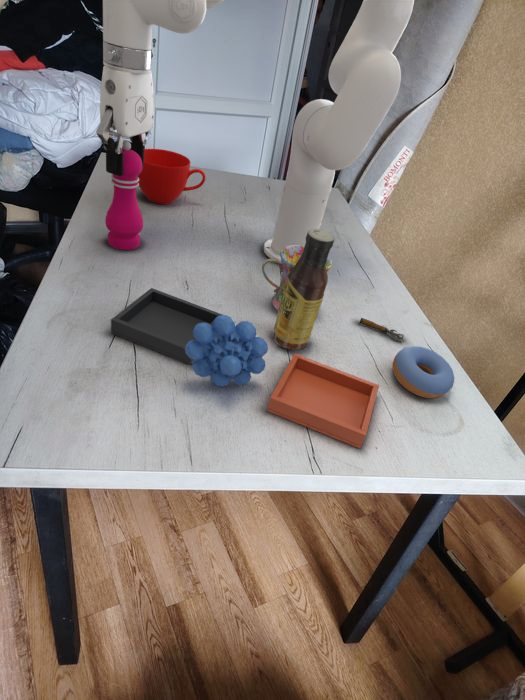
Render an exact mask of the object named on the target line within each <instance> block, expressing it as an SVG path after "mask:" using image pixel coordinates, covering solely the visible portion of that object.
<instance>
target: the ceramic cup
mask: <svg viewBox="0 0 525 700" xmlns="http://www.w3.org/2000/svg"><path fill="white" fill-rule="evenodd" d="M196 173H197V174H200V175H201V176H202V179H201V181H200V182H199V183H198V184H196V185H193V186H187V183H188V180H189V178H190V177H191V176H192V175H193V174H196ZM137 177H138V178H139V181H138V183H139V186H138V187H139V188H140V190H141V192H142V193H143V194H144V196H145V198H146V199H147V200H148V201H150V202H153V203H155V204H162V205H167V204H172V203H173V202H174V201H175V200H177V198H179V197H180V196H181V194H183V192H188V191H193V190H198V189H199V188H201V187H202V186H203V185H204V184H205V182H206V173H205V172H204V170H202V169H200V168H193V169H191V159H190V158H189V157H187V156H185V155H183V154H182V153H178V152H176V151H171V150H168V149H161V148H145V149H144V167H143V168H142V171H141V173H140V174H139V175H138V176H137Z"/></svg>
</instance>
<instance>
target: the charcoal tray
mask: <svg viewBox="0 0 525 700" xmlns="http://www.w3.org/2000/svg"><path fill="white" fill-rule="evenodd" d="M219 315H224V314H223V313H220V312H217V311H214V310H211V309H209V308H207V307H204V306H201V305H198V304H196V303H194V302H190V301H188V300H185V299H182V298H180V297H177V296H174V295H172V294H169V293H166V292H163V291H161V290H158V289H156V288H153V287H150V288H149V289H148V290H147V291H146V292H144V293H143V294H141V295H140V296H139V297H138V298H136V299H135V300H134V301H133V302H132V303H130V304H129V305H128V306H126V307H125V308H124V309H122V310H121V311H120V312H119V313H118V314H116V315H115V316H113V317H112V318H111V319H110V334H113V335H115V336H117V337H120V338H122V339H125V340H126V341H127V340H128V341H129V342H132V343H135V344H138V345H140V346H142V347H144V348H147V349H149V350H152V351H155V352H158V353H160V354H161V355H162V354H163V355H164V356H167V357H170V358H172V359H174V360H178V361H180V362H182V363H185V364H188V365H192V364H193V362H194V360H193V359H191V358H189V357H188V355H187V354H186V352H185V347H186V344H187V343H188V342H189V341H190V340H196V339H195V338H194V335H193V330H194V327H195V326H196V325H197V324H198V323H208V324H210V325H211V326H212V327H213V322H214V320H215V318H216V317H218V316H219Z"/></svg>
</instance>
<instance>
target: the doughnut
mask: <svg viewBox="0 0 525 700" xmlns="http://www.w3.org/2000/svg"><path fill="white" fill-rule="evenodd" d="M392 372H393V374H394V376H395V378H396V380H397V381H398V382H399V384H400V385H401V386H402V387H403V388H405V389H406V390H407V391H409V392H410V393H412V394H414V395H415V396H419V397H422V398H424V399H437V398H441V397H444V396H446V394H447V393H448V392H449V391H450V390H452V388H453V386H454V383H455V374H454V371H453V368H452V367H451V365H450V363H449V362H448V361H447V360H446V359H445V358H444V357H442V355H440V354H439V353H437V352H436V351H434V350H432V349H430V348H427V347H423V346H420V345H410V346H406V347H403V348H402V349H400V350H399V351H398V352H397V354H395V356H394V358H393V360H392Z"/></svg>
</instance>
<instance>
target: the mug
mask: <svg viewBox="0 0 525 700" xmlns="http://www.w3.org/2000/svg"><path fill="white" fill-rule="evenodd" d="M304 247H305V246H302V245H290V246H286V247H284V248H283V249H282V250H281V252H280V256H281V261H282V264H280V262H279V261H277V260H275V259H270V258H267V259H265V260H264V261H263V263H262V265H261V271H262V274H263V276H264V278H265V280H266V281H267V282H268V283H269V284H270V285H271V286H272V287H274V288H275V289H273V293H274V294H273V295H272V297H271V304H272V306H273V307H274V309H276V310H277V312H278V311H279V307H280V303H281V299H282V295H283V292H284V288H285V285H286V281H287V277H288V275H289V273H290V272H291V270H292V269H293V267H294V266H295V265H296V263H297V262H298V260H299V259H300V258H301V256H302V253H303V251H304ZM268 263H275V264H277V265H278V267H279V272H280V273H281V279H280V283H279V285H278V284H276V283H275V282H273V281H272V280H271V279H270V278H269V276H268V275H267V273H266V270H265V267H266V265H267V264H268ZM332 266H333V261H332V259H331V258H330V257H329V256H328V257H327V263H326V264H325V267H326V269H327V272H329V271H330V269H331V268H332Z"/></svg>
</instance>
